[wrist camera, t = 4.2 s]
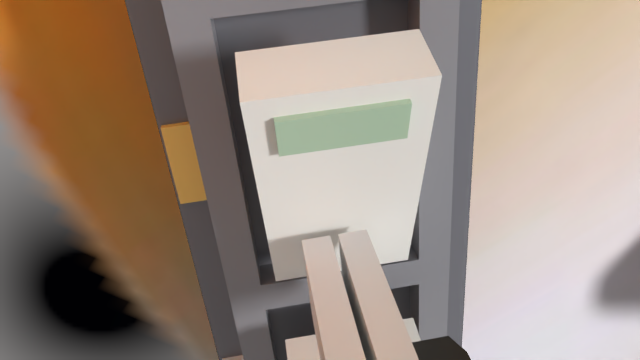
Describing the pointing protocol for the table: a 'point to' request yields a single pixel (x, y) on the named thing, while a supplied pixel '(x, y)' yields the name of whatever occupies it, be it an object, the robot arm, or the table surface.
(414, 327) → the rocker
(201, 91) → the power strip
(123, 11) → the table surface
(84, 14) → the table surface
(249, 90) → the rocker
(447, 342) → the robot arm
